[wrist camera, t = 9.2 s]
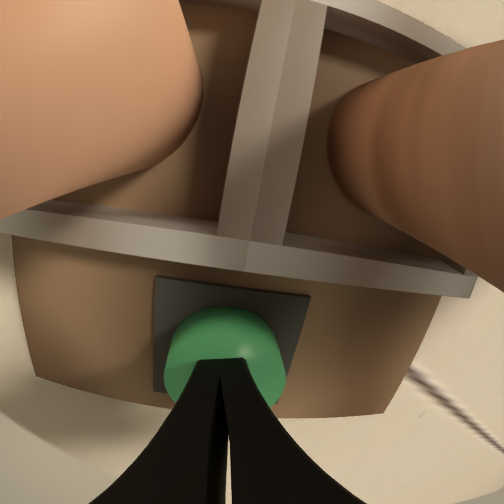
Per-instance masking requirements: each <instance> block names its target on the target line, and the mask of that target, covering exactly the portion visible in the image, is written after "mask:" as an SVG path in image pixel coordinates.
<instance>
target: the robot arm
mask: <svg viewBox="0 0 504 504" xmlns="http://www.w3.org/2000/svg"><path fill="white" fill-rule="evenodd" d="M228 435H229V441H230V461H231V490H232V504H366V503H365V502H363V501H362V500H360V499H359V498H357V497H356V496H354V495H353V494H352V493H351V492H349V491H348V490H347V489H345V488H344V487H343V486H342V485H340V484H339V483H338V482H337V481H335V480H334V479H333V478H332V477H331V476H329V475H328V474H327V473H326V472H325V471H323V470H322V469H321V468H320V467H319V466H318V465H317V464H316V463H315V462H314V461H313V460H312V459H311V458H310V457H309V456H308V455H307V454H306V453H305V452H304V451H303V450H302V449H301V448H300V446H299V445H298V444H297V443H296V442H295V441H294V440H293V438H292V437H291V436H290V435H289V434H288V432H287V431H286V430H285V428H284V427H283V426H282V424H281V423H280V422H279V421H278V419H277V418H276V416H275V415H274V413H273V412H272V411H271V409H270V407H269V406H268V404H267V403H266V401H265V399H264V398H263V396H262V395H261V393H260V391H259V389H258V387H257V385H256V383H255V381H254V380H253V377H252V375H251V373H250V370H249V368H248V365H247V361H246V360H245V359H244V358H243V357H239V358H224V359H203V360H198V361H197V362H196V364H195V366H194V369H193V371H192V373H191V376H190V378H189V380H188V382H187V384H186V386H185V388H184V390H183V392H182V393H181V395H180V397H179V399H178V400H177V402H176V404H175V406H174V407H173V409H172V411H171V412H170V414H169V415H168V417H167V418H166V420H165V421H164V423H163V424H162V426H161V427H160V429H159V430H158V432H157V433H156V435H155V436H154V437H153V439H152V440H151V441H150V443H149V444H148V445H147V447H146V448H145V449H144V450H143V451H142V453H141V454H140V455H139V456H138V457H137V459H136V460H135V461H134V462H133V463H132V464H131V465H130V466H129V467H128V468H127V469H126V471H125V472H124V473H123V474H122V475H121V476H120V477H119V478H118V479H117V480H116V481H115V482H114V483H113V484H112V485H111V486H109V488H107V489H106V490H105V491H104V492H103V493H101V494H100V495H99V496H98V497H96V498H95V499H94V500H93V501H92V502H90V503H89V504H225V493H226V472H227V452H228Z"/></svg>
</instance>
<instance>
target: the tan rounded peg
mask: <svg viewBox="0 0 504 504" xmlns="http://www.w3.org/2000/svg"><path fill="white" fill-rule="evenodd" d="M203 93H204V89H203V79H202V74H201V70H200V67H199V64H198V61H197V57H196V54H195V51H194V48H193V45H192V42H191V38H190V35H189V32H188V29H187V26H186V23H185V19H184V16H183V13H182V10H181V7H180V4H179V0H0V220H1V219H3V218H6V217H8V216H10V215H13V214H15V213H18V212H20V211H22V210H25V209H27V208H30V207H32V206H35V205H38V204H40V203H43V202H45V201H48V200H51V199H53V198H56V197H59V196H62V195H65V194H67V193H70V192H73V191H76V190H79V189H82V188H85V187H88V186H91V185H94V184H97V183H100V182H103V181H107V180H110V179H113V178H116V177H120V176H123V175H127V174H130V173H133V172H137V171H140V170H144V169H147V168H149V167H152V166H154V165H156V164H158V163H160V162H161V161H163V160H165V159H166V158H167V157H169V156H170V155H172V154H173V153H174V152H175V151H176V150H177V149H178V148H179V147H180V146H181V145H182V144H183V143H184V141H185V140H186V139H187V138H188V136H189V135H190V133H191V132H192V130H193V128H194V126H195V124H196V122H197V120H198V117H199V114H200V111H201V107H202V102H203Z"/></svg>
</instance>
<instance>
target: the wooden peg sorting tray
mask: <svg viewBox="0 0 504 504" xmlns="http://www.w3.org/2000/svg"><path fill="white" fill-rule="evenodd" d="M179 4H180V7H181V10H182V13H183V16H184V19H185V23H186V26H187V29H188V32H189V35H190V38H191V42H192V45H193V48H194V51H195V54H196V57H197V61H198V64H199V67H200V70H201V74H202V79H203V89H204V93H203V102H202V107H201V111H200V114H199V117H198V120H197V122H196V124H195V126H194V128H193V130H192V132H191V133H190V135H189V136H188V138H187V139H186V140H185V141H184V143H183V144H182V145H181V146H180V147H179V148H178V149H177V150H176V151H175V152H174V153H173V154H172V155H170V156H169V157H167V158H166V159H165V160H163V161H161V162H160V163H158V164H156V165H154V166H152V167H149V168H147V169H144V170H140V171H137V172H133V173H130V174H127V175H123V176H120V177H116V178H113V179H110V180H107V181H103V182H100V183H97V184H94V185H91V186H88V187H85V188H82V189H79V190H76V191H73V192H70V193H67V194H65V195H62V196H59V197H56V198H53V199H51V200H48V201H45V202H43V203H40V204H38V205H35V206H32V207H30V208H27V209H25V210H22V211H20V212H18V213H15V214H13V215H10V216H8V217H6V218H3V219H1V220H0V233H4V234H10V235H12V243H13V257H14V267H15V276H16V284H17V291H18V298H19V304H20V310H21V315H22V320H23V325H24V330H25V335H26V339H27V344H28V348H29V352H30V356H31V360H32V363H33V367H34V370H35V374H36V376H38V377H40V378H43V379H46V380H49V381H53V382H56V383H59V384H62V385H66V386H69V387H72V388H76V389H79V390H83V391H87V392H91V393H95V394H98V395H103V396H107V397H111V398H115V399H120V400H125V401H129V402H134V403H139V404H145V405H150V406H156V407H162V408H168V409H173V407H174V406H175V404H176V403H175V402H174V401H173V400H172V399H171V397H170V396H169V394H168V392H167V390H166V388H165V384H164V370H165V366H166V361H167V357H168V353H169V348H170V344H171V340H172V337H173V334H174V332H175V330H176V328H177V327H178V326H179V324H180V323H181V322H182V321H183V320H184V319H186V318H187V317H188V316H189V315H191V314H193V313H195V312H197V311H199V310H202V309H205V308H209V307H215V306H232V307H238V308H242V309H245V310H248V311H250V312H253V313H254V314H256V315H258V316H259V317H261V318H262V319H263V320H265V321H266V322H267V324H268V325H269V326H270V327H271V329H272V330H273V332H274V334H275V336H276V339H277V343H278V347H279V350H280V354H281V358H282V361H283V365H284V369H285V374H286V383H285V387H284V390H283V392H282V394H281V396H280V398H279V399H278V400H277V401H276V403H275V404H273V405H272V406H271V407H270V409H271V411H272V412H273V413H274V415H275V416H276V418H328V417H347V416H360V415H372V414H381V413H384V411H385V410H386V408H387V406H388V405H389V403H390V401H391V400H392V398H393V396H394V395H395V393H396V391H397V389H398V387H399V386H400V384H401V382H402V380H403V378H404V376H405V375H406V373H407V371H408V369H409V367H410V365H411V363H412V361H413V359H414V357H415V355H416V353H417V351H418V349H419V347H420V345H421V342H422V340H423V338H424V336H425V334H426V332H427V329H428V327H429V325H430V322H431V320H432V318H433V315H434V313H435V311H436V308H437V306H438V303H439V301H440V298H441V295H442V296H451V297H461V298H470V296H471V293H472V290H473V288H474V285H475V282H476V280H477V277H478V276H479V277H481V278H482V279H484V280H486V281H487V282H489V283H490V284H492V285H493V286H495V287H496V288H498V289H499V290H501V291H502V292H504V40H500V41H496V42H491V43H487V44H483V45H479V46H475V47H471V48H468V49H466V48H464V47H463V46H461V45H460V44H458V43H457V42H455V41H454V40H452V39H450V38H449V37H447V36H445V35H444V34H442V33H440V32H439V31H437V30H435V29H433V28H432V27H430V26H428V25H426V24H424V23H423V22H421V21H419V20H417V19H415V18H413V17H411V16H409V15H407V14H405V13H403V12H401V11H399V10H397V9H394V8H392V7H390V6H388V5H385V4H383V3H381V2H379V1H376V0H179Z"/></svg>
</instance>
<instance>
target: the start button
mask: <svg viewBox="0 0 504 504" xmlns="http://www.w3.org/2000/svg"><path fill="white" fill-rule="evenodd" d="M239 357H243V358H244V359H245V360H246V361H247V365H248V368H249V370H250V373H251V375H252V377H253V380H254V381H255V383H256V385H257V387H258V389H259V391H260V393H261V395H262V396H263V398H264V399H265V401H266V403H267V404H268V406H269V407H271V406H272V405H273V404H275V403H276V401H277V400H278V399H279V398H280V396H281V394H282V392H283V390H284V387H285V383H286V374H285V369H284V365H283V361H282V358H281V354H280V350H279V347H278V343H277V339H276V336H275V334H274V332H273V330H272V329H271V327H270V326H269V325H268V324H267V322H266V321H265V320H263V319H262V318H261V317H259V316H258V315H256V314H254V313H253V312H250V311H248V310H245V309H242V308H238V307H232V306H215V307H209V308H205V309H202V310H199V311H197V312H195V313H193V314H191V315H189V316H188V317H187V318H186V319H184V320H183V321H182V322H181V323H180V324H179V326H178V327H177V328H176V330H175V332H174V334H173V337H172V340H171V344H170V348H169V353H168V357H167V361H166V366H165V370H164V384H165V388H166V390H167V392H168V394H169V396H170V397H171V399H172V400H173V401H174V402H175V403H176V402H177V400H178V399H179V397H180V395H181V393H182V392H183V390H184V388H185V386H186V384H187V382H188V380H189V378H190V376H191V373H192V371H193V369H194V366H195V364H196V362H197V361H198V360H203V359H224V358H239Z"/></svg>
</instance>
